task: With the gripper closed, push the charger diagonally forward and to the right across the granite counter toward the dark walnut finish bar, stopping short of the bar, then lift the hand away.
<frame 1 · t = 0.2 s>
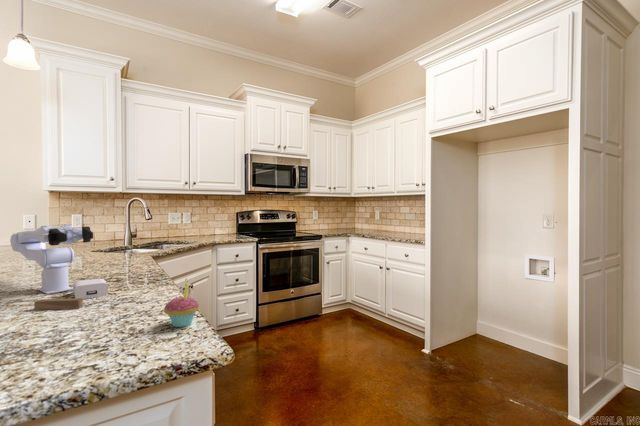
hand: (79, 236, 112), 21 cm above the counter, tool horizontal, fingers open, 7 cm apart
cupcake: (181, 324, 90), on the counter
charger: (89, 294, 121), on the counter
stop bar: (59, 308, 103), on the counter
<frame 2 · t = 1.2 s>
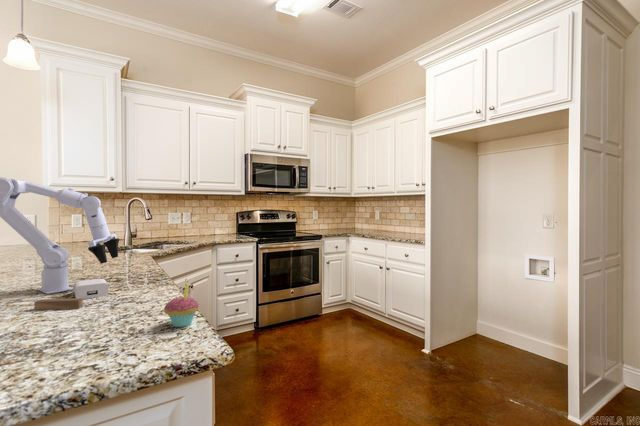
hand: (109, 260, 130), 10 cm above the counter, tool pointing down, fingers open, 7 cm apart
nothing on the counter moved.
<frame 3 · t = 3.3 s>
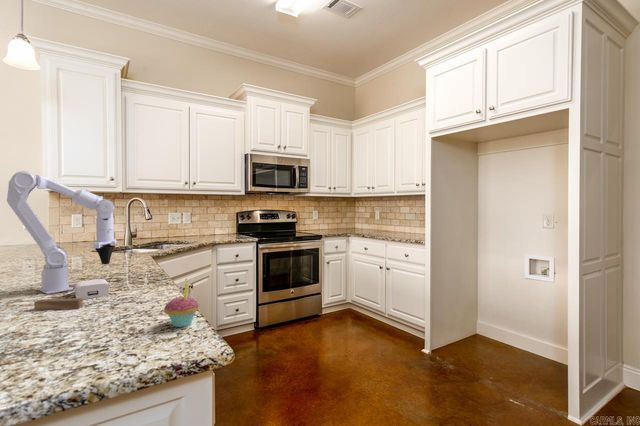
hand: (105, 264, 133), 8 cm above the counter, tool pointing down, fingers closed
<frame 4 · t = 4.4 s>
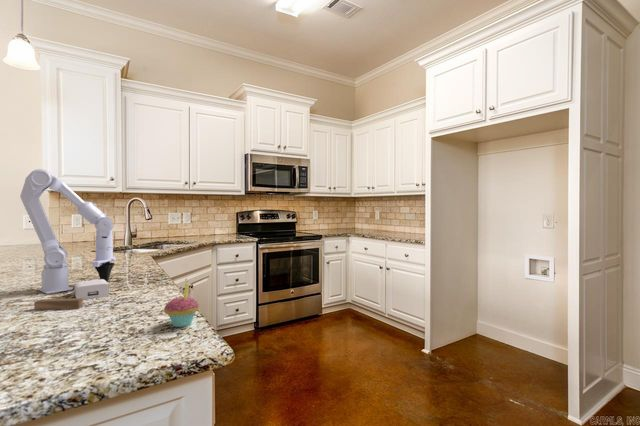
hand: (104, 281, 132), 1 cm above the counter, tool pointing down, fingers closed
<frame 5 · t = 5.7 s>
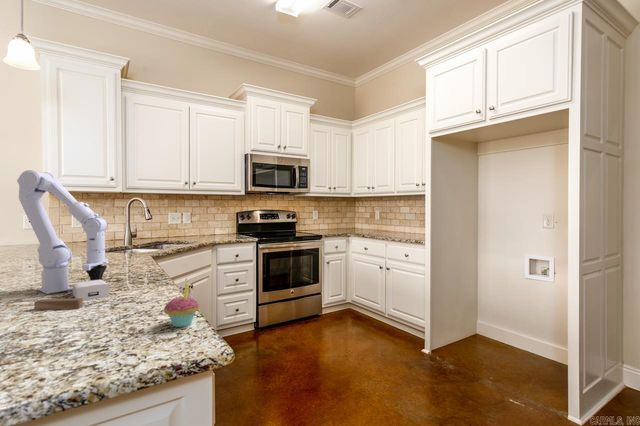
hand: (96, 285, 126), 1 cm above the counter, tool pointing down, fingers closed
charger: (89, 295, 118), on the counter, touching gripper
everything else where it was.
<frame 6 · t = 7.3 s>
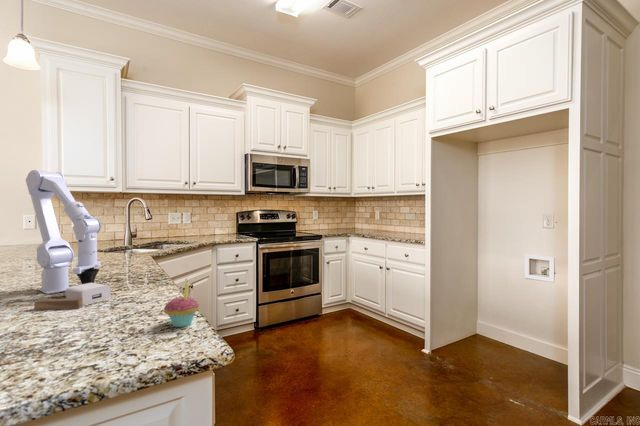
hand: (88, 290, 120), 1 cm above the counter, tool pointing down, fingers closed
charger: (83, 299, 114), on the counter
everything else where it was.
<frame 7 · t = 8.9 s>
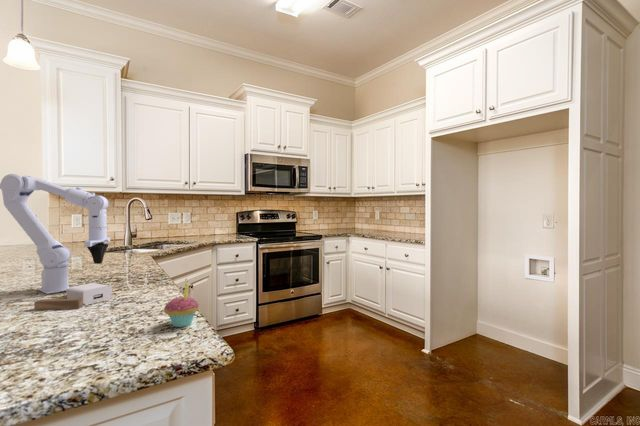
hand: (98, 263, 127), 9 cm above the counter, tool pointing down, fingers closed
nothing on the counter moved.
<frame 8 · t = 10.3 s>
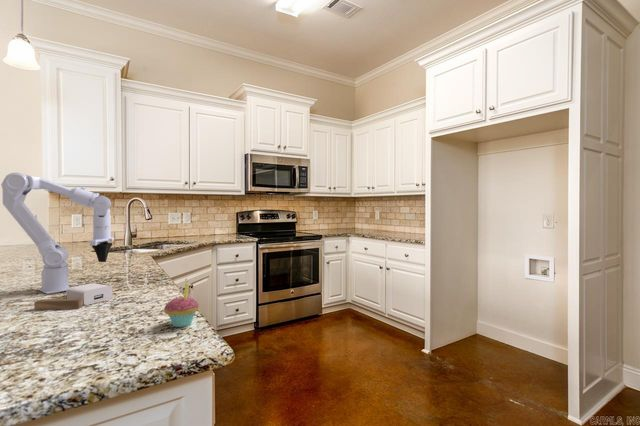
hand: (102, 261, 130), 9 cm above the counter, tool pointing down, fingers closed
at the end: charger inside the target area (2.3 cm from its centre), on the counter; charger moved 8.7 cm from its start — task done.
